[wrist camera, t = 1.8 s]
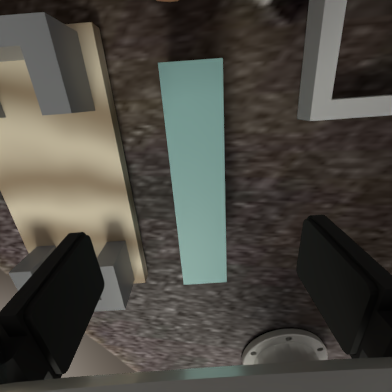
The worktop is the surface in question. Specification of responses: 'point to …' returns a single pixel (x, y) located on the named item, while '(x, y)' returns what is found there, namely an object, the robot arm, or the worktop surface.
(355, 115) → the parts tray
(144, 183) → the worktop surface
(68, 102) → the grey slat holder
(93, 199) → the base board
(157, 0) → the egg
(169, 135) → the slat
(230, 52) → the worktop surface
